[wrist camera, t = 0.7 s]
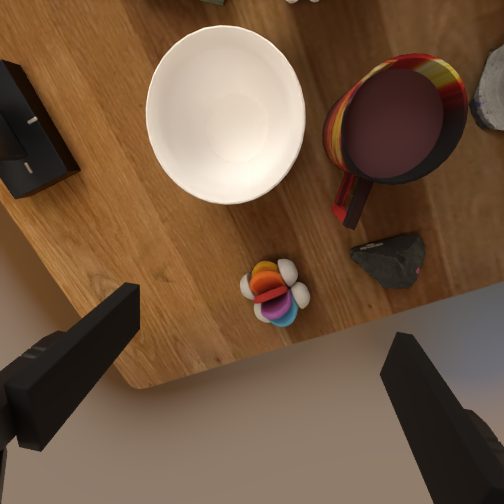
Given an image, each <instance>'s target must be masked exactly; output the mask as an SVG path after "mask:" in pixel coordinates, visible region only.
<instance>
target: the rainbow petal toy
mask: <svg viewBox="0 0 504 504" xmlns="http://www.w3.org/2000/svg"><path fill="white" fill-rule="evenodd" d="M297 277H298V272H297V269H296V267H295V265H294V263H293V262H292V261H290V260H287V259H279V260H278V266H277V265H276V264H275V263H273V262H270V261H261V262H259V263H258V264H257V265H256V266H255V267H254V269H253V271H252V275H251V274H250V273H247V274H245V275H244V276H243V277H242V279H241V281H240V290H241V292H242V294H243V295H244V296H245V297H246V298H248V299H251V300H254V303H255V304H254V312H255V315H256V317H257V318H258V319H259V320H261V321H263V322H271V323H272V324H274V325H276V326H279V327H286V326H289V325H290V324H291V323H292V322H293V321H294V320H295V318H296V316H297V312H298V307H300V308H301V309H303V308H305V307H306V306H307V305H308V303H309V301H310V293H309V291H308V289H307V287H306V286H305V285H304V284H302V283H300V282H295V281H296V280H297ZM286 285H287V286H290V287H291V288H290V287H287V286H286Z"/></svg>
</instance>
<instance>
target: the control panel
mask: <svg viewBox="0 0 504 504" xmlns="http://www.w3.org/2000/svg"><path fill="white" fill-rule="evenodd" d="M0 113H1V115H2V116H3V118H4V119H5V121H6V122H7V124H8V126H9V127H10V129H11V130H12V132H13V134H14V135H15V137H16V138H17V140H18V142H19V143H20V145H21V146H22V148H23V150H24V151H25V153H26V154H27V155H26V156H24V157H22V158H21V159H19V160H12V161H0V178H1V179H2V181H3V182H4V184H5V185H6V187H7V188H8V190H9V191H10V193H11V194H12V196H13V197H14V199H19V198H24V197H30V196H32V195H34V194H36V193H38V192H40V191H42V190H44V189H46V188H47V187H49V186H51V185H53V184H55V183H57V182H59V181H61V180H63V179H65V178H67V177H69V176H71V175H73V174H75V173H77V172H79V171H81V170H80V168H79V166H78V165H77V163H76V161H75V159H74V158H73V156H72V154H71V153H70V151H69V149H68V147H67V146H66V144H65V142H64V140H63V139H62V137H61V135H60V134H59V132H58V130H57V128H56V127H55V125H54V123H53V122H52V120H51V118H50V116H49V115H48V113H47V111H46V109H45V108H44V106H43V104H42V103H41V101H40V99H39V97H38V96H37V94H36V92H35V91H34V89H33V87H32V85H31V84H30V82H29V80H28V78H27V77H26V75H25V73H24V72H23V70H22V68H21V66H20V65H18V64H15V63H12V62H9V61H5V60H2V59H1V60H0Z"/></svg>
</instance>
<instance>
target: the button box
mask: <svg viewBox="0 0 504 504" xmlns="http://www.w3.org/2000/svg"><path fill="white" fill-rule="evenodd" d="M198 1H203V2H207V3H212V4H216V5H221V6H223V4H224V0H198Z"/></svg>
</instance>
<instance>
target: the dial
mask: <svg viewBox="0 0 504 504" xmlns="http://www.w3.org/2000/svg"><path fill="white" fill-rule="evenodd" d="M26 155H27V154H26V153H25V151H24V150H23V148H22V146H21V145H20V143H19V142H18V140H17V138H16V137H15V135H14V134H13V132H12V130H11V129H10V127H9V126H8V124H7V122H6V121H5V119H4V118H3V116H2V115H1V113H0V161H12V160H19V159H21V158H22V157H24V156H26Z"/></svg>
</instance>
